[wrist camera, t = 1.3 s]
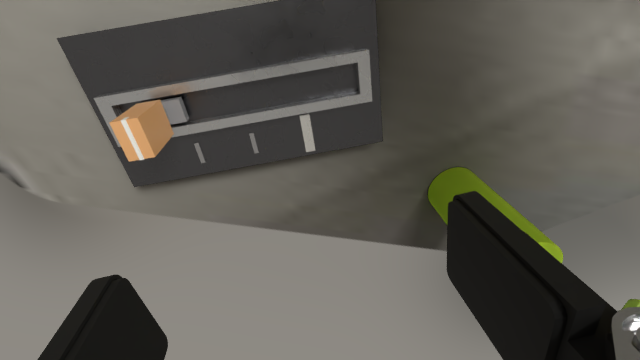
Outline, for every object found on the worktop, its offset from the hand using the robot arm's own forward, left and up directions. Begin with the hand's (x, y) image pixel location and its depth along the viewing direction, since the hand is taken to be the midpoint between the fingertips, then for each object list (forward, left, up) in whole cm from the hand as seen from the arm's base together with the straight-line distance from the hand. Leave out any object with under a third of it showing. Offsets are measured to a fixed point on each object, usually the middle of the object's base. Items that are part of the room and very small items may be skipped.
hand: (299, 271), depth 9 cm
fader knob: (-1, -10, -20) cm, 23 cm away
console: (-1, -4, -23) cm, 23 cm away
